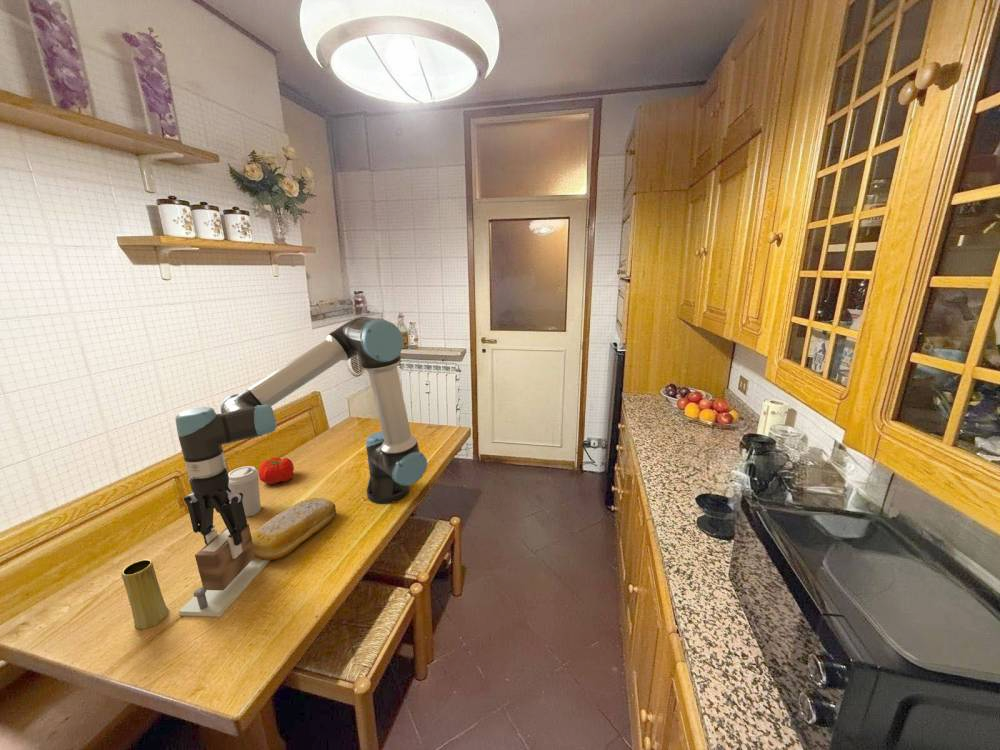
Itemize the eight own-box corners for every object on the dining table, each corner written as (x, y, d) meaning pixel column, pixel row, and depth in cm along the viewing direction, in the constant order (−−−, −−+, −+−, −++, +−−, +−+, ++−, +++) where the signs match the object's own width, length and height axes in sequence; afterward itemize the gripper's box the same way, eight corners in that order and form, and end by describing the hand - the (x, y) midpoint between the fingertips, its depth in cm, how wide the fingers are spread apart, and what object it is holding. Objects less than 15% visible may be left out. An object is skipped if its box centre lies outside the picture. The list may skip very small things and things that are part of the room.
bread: (241, 559, 112) (237, 534, 110) (309, 509, 137) (306, 488, 135) (280, 568, 109) (277, 543, 107) (342, 515, 133) (340, 494, 132)
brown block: (238, 555, 109) (230, 523, 106) (255, 556, 108) (248, 523, 106) (203, 589, 97) (194, 554, 95) (223, 590, 97) (214, 554, 94)
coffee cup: (250, 521, 130) (242, 480, 126) (226, 518, 132) (216, 477, 128) (272, 505, 139) (264, 465, 136) (249, 502, 141) (241, 464, 137)
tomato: (252, 485, 153) (248, 465, 151) (280, 470, 164) (277, 451, 162) (276, 491, 148) (272, 470, 146) (303, 475, 159) (300, 456, 157)
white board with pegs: (272, 557, 113) (268, 540, 112) (220, 616, 94) (215, 596, 92) (238, 556, 114) (234, 539, 112) (179, 615, 94) (174, 595, 93)
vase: (148, 609, 97) (133, 558, 93) (175, 606, 97) (161, 556, 93) (127, 630, 91) (110, 578, 87) (156, 628, 91) (140, 575, 88)
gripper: (158, 479, 93) (180, 564, 98) (232, 480, 91) (250, 566, 97) (185, 464, 100) (204, 544, 106) (254, 464, 99) (270, 545, 104)
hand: (226, 554), depth 101 cm, fingers closed on brown block, 5 cm apart
